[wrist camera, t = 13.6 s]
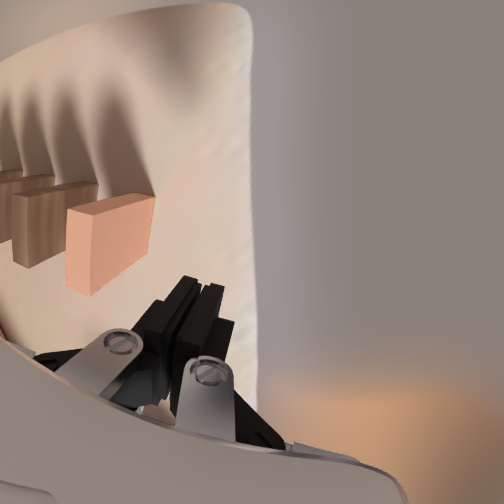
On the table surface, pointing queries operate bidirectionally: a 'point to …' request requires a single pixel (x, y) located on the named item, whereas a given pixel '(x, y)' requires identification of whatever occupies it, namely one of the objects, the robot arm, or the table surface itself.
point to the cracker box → (0, 334)
